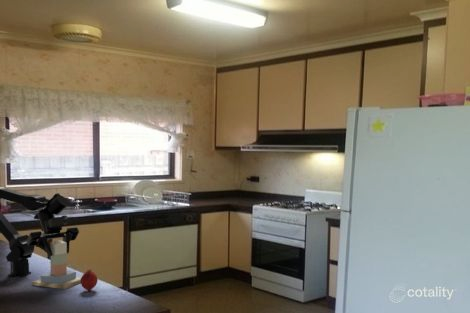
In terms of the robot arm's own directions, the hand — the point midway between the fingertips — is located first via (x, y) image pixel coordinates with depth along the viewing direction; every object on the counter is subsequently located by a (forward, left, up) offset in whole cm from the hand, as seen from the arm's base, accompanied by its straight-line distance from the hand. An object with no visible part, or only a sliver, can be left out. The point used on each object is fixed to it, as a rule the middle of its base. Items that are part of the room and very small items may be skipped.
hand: (60, 254), depth 178 cm
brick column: (-1, +1, -8) cm, 8 cm away
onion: (+16, -4, -12) cm, 20 cm away
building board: (-1, +1, -11) cm, 11 cm away
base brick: (-1, +1, -10) cm, 10 cm away
